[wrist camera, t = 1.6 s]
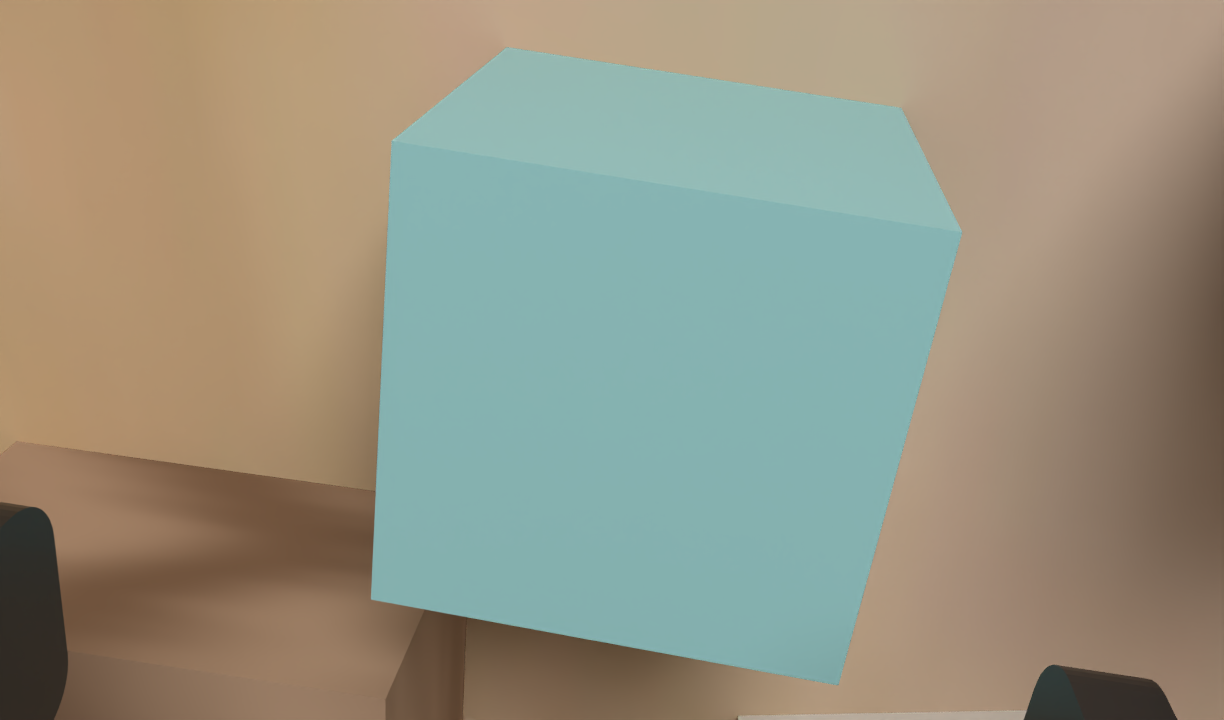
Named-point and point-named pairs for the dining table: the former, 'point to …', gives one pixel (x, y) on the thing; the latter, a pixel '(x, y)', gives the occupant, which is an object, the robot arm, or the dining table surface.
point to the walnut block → (227, 596)
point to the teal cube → (651, 357)
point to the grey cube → (900, 716)
